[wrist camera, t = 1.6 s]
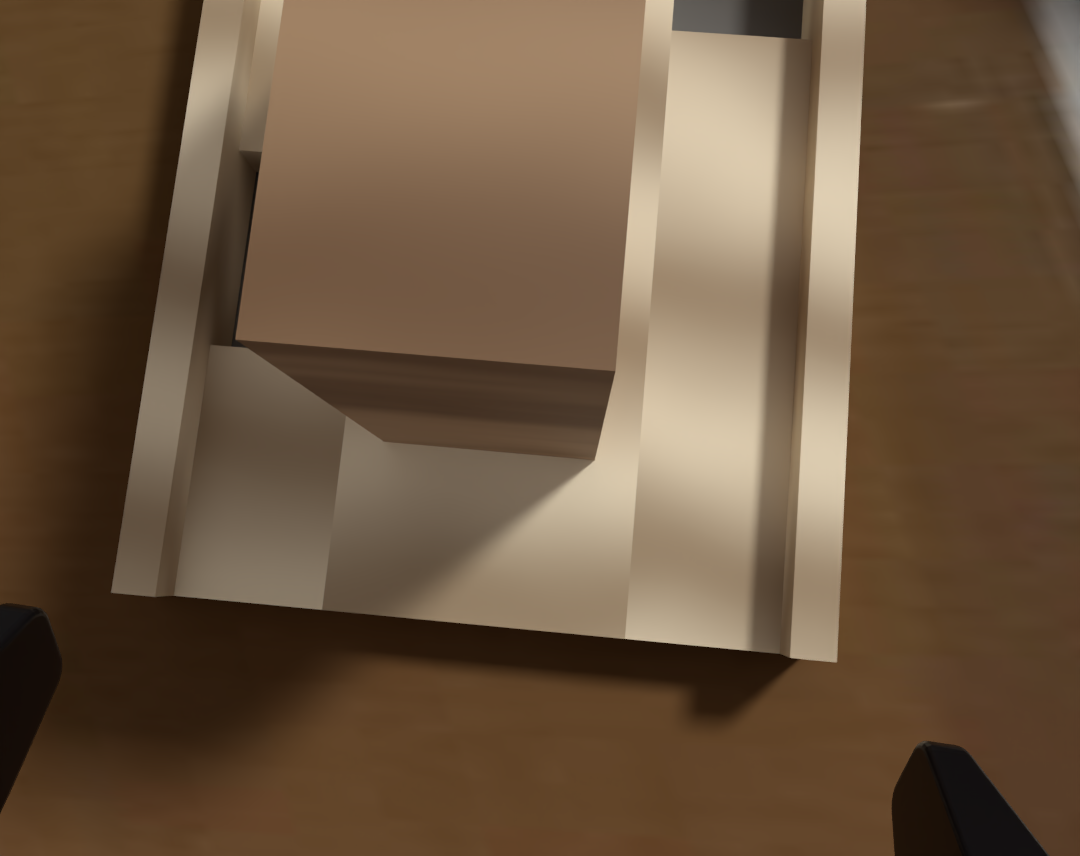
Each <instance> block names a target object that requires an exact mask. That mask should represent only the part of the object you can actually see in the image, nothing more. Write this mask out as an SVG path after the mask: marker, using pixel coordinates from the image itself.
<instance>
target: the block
mask: <svg viewBox="0 0 1080 856" xmlns="http://www.w3.org/2000/svg"><path fill="white" fill-rule="evenodd" d="M645 4H646V0H284V2H283V9H282V16H281V23H280V30H279V37H278V44H277V51H276V58H275V65H274V72H273V79H272V86H271V93H270V100H269V107H268V114H267V121H266V128H265V135H264V142H263V149H262V156H261V163H260V170H259V177H258V184H257V191H256V198H255V205H254V212H253V219H252V226H251V233H250V240H249V247H248V254H247V261H246V268H245V275H244V282H243V289H242V296H241V303H240V310H239V317H238V324H237V331H236V338H235V340H237V341H238V342H240V343H241V344H243V345H244V346H245V347H247V348H248V349H250V350H251V351H253V352H254V353H256V354H257V355H259V356H260V357H261V358H263V359H264V360H266V361H267V362H269V363H270V364H272V365H273V366H274V367H276V368H277V369H279V370H280V371H282V372H283V373H285V374H286V375H288V376H289V377H290V378H292V379H293V380H295V381H296V382H298V383H299V384H301V385H302V386H304V387H305V388H306V389H308V390H309V391H311V392H312V393H314V394H315V395H317V396H318V397H320V398H321V399H322V400H324V401H325V402H327V403H328V404H330V405H331V406H333V407H334V408H336V409H337V410H338V411H340V412H341V413H343V414H344V415H346V416H347V417H349V418H350V419H351V420H353V421H354V422H356V423H357V424H359V425H360V426H362V427H363V428H365V429H366V430H367V431H369V432H370V433H372V434H373V435H375V436H376V437H378V438H379V439H381V440H382V441H383V442H392V443H403V444H414V445H426V446H437V447H449V448H460V449H472V450H483V451H494V452H506V453H517V454H529V455H540V456H552V457H563V458H574V459H586V460H595V457H596V453H597V448H598V444H599V440H600V436H601V431H602V427H603V423H604V418H605V414H606V410H607V406H608V401H609V397H610V393H611V388H612V384H613V380H614V376H615V371H616V359H617V347H618V335H619V323H620V310H621V298H622V286H623V273H624V261H625V249H626V237H627V224H628V212H629V200H630V188H631V175H632V163H633V151H634V139H635V126H636V114H637V102H638V90H639V77H640V65H641V53H642V41H643V28H644V16H645Z"/></svg>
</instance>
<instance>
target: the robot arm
mask: <svg viewBox="0 0 1080 856" xmlns="http://www.w3.org/2000/svg"><path fill="white" fill-rule="evenodd" d="M61 672H62V658H61V654H60V651H59V648H58V645H57V642H56V639H55V636H54V633H53V630H52V627H51V624H50V621H49V618H48V616H47V614H46V613H45V612H44V611H43V610H42V609H41V608H38V607H32V606H25V605H19V604H11V603H6V604H1V605H0V813H1V811H2V808H3V806H4V804H5V802H6V800H7V798H8V796H9V794H10V791H11V789H12V787H13V785H14V782H15V780H16V778H17V776H18V773H19V771H20V769H21V767H22V764H23V762H24V760H25V758H26V755H27V753H28V751H29V748H30V746H31V744H32V742H33V739H34V737H35V735H36V733H37V730H38V728H39V726H40V724H41V721H42V719H43V717H44V715H45V712H46V710H47V708H48V706H49V703H50V701H51V699H52V696H53V694H54V692H55V690H56V687H57V685H58V683H59V680H60V676H61ZM892 822H893V837H894V851H895V856H1049V855H1048V854H1047V852H1046V851H1045V850H1044V848H1043V847H1042V846H1041V845H1040V843H1039V842H1038V841H1037V839H1036V838H1035V837H1034V836H1033V834H1032V833H1031V832H1030V830H1029V829H1028V828H1027V827H1026V825H1025V824H1024V823H1023V822H1022V820H1021V819H1020V818H1019V816H1018V815H1017V814H1016V813H1015V811H1014V810H1013V809H1012V807H1011V806H1010V805H1009V804H1008V802H1007V801H1006V800H1005V798H1004V797H1003V796H1002V795H1001V793H1000V792H999V791H998V789H997V788H996V787H995V786H994V784H993V783H992V782H991V780H990V779H989V778H988V777H987V775H986V774H985V773H984V771H983V770H982V769H981V768H980V766H979V765H978V764H977V762H976V761H975V760H974V759H973V757H972V756H971V755H970V754H969V753H968V752H967V751H966V750H965V749H963V748H962V747H959V746H956V745H951V744H944V743H938V742H931V741H923V742H921V743H919V744H918V745H917V746H916V748H915V749H914V751H913V753H912V755H911V757H910V759H909V761H908V762H907V764H906V766H905V768H904V770H903V772H902V774H901V776H900V778H899V780H898V782H897V784H896V786H895V789H894V792H893V798H892Z"/></svg>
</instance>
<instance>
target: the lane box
mask: <svg viewBox="0 0 1080 856" xmlns="http://www.w3.org/2000/svg"><path fill="white" fill-rule="evenodd" d="M283 2H284V0H204V1H203V8H202V14H201V20H200V27H199V33H198V40H197V46H196V52H195V59H194V65H193V72H192V78H191V84H190V91H189V97H188V104H187V110H186V116H185V123H184V129H183V136H182V142H181V148H180V155H179V161H178V168H177V174H176V180H175V187H174V193H173V200H172V206H171V212H170V219H169V225H168V232H167V238H166V244H165V251H164V257H163V264H162V270H161V276H160V283H159V289H158V296H157V302H156V308H155V315H154V321H153V328H152V334H151V340H150V347H149V353H148V360H147V366H146V372H145V379H144V385H143V392H142V398H141V404H140V411H139V417H138V423H137V430H136V436H135V443H134V449H133V455H132V462H131V468H130V475H129V481H128V487H127V494H126V500H125V507H124V513H123V519H122V526H121V532H120V539H119V545H118V551H117V558H116V564H115V571H114V577H113V583H112V590H111V593H119V594H129V595H140V596H150V597H162V596H182V597H193V598H203V599H213V600H224V601H234V602H245V603H255V604H266V605H276V606H286V607H297V608H307V609H318V610H328V611H339V612H349V613H360V614H370V615H380V616H391V617H401V618H412V619H422V620H433V621H443V622H453V623H464V624H474V625H485V626H495V627H506V628H516V629H527V630H537V631H547V632H558V633H568V634H579V635H589V636H600V637H610V638H620V639H631V640H641V641H652V642H662V643H673V644H683V645H694V646H704V647H714V648H725V649H735V650H746V651H756V652H767V653H777V654H782V655H784V656H787V657H789V658H796V659H807V660H817V661H828V662H837V648H838V625H839V603H840V580H841V558H842V535H843V513H844V490H845V468H846V445H847V423H848V400H849V377H850V355H851V332H852V310H853V287H854V265H855V242H856V220H857V197H858V175H859V152H860V129H861V107H862V84H863V62H864V39H865V17H866V0H646V4H645V16H644V28H643V41H642V53H641V65H640V77H639V90H638V102H637V114H636V126H635V139H634V151H633V163H632V175H631V188H630V200H629V212H628V224H627V237H626V249H625V261H624V273H623V286H622V298H621V310H620V323H619V335H618V347H617V359H616V371H615V376H614V380H613V384H612V388H611V393H610V397H609V401H608V406H607V410H606V414H605V418H604V423H603V427H602V431H601V436H600V440H599V444H598V448H597V453H596V457H595V460H586V459H574V458H563V457H552V456H540V455H529V454H517V453H506V452H494V451H483V450H472V449H460V448H449V447H437V446H426V445H414V444H403V443H392V442H383V441H382V440H381V439H379V438H378V437H376V436H375V435H373V434H372V433H370V432H369V431H367V430H366V429H365V428H363V427H362V426H360V425H359V424H357V423H356V422H354V421H353V420H351V419H350V418H349V417H347V416H346V415H344V414H343V413H341V412H340V411H338V410H337V409H336V408H334V407H333V406H331V405H330V404H328V403H327V402H325V401H324V400H322V399H321V398H320V397H318V396H317V395H315V394H314V393H312V392H311V391H309V390H308V389H306V388H305V387H304V386H302V385H301V384H299V383H298V382H296V381H295V380H293V379H292V378H290V377H289V376H288V375H286V374H285V373H283V372H282V371H280V370H279V369H277V368H276V367H274V366H273V365H272V364H270V363H269V362H267V361H266V360H264V359H263V358H261V357H260V356H259V355H257V354H256V353H254V352H253V351H251V350H250V349H248V348H247V347H245V346H244V345H243V344H241V343H240V342H238V341H237V340H235V338H236V331H237V324H238V317H239V310H240V303H241V296H242V289H243V282H244V275H245V268H246V261H247V254H248V247H249V240H250V233H251V226H252V219H253V212H254V205H255V198H256V191H257V184H258V177H259V170H260V163H261V156H262V149H263V142H264V135H265V128H266V121H267V114H268V107H269V100H270V93H271V86H272V79H273V72H274V65H275V58H276V51H277V44H278V37H279V30H280V23H281V16H282V9H283Z"/></svg>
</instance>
